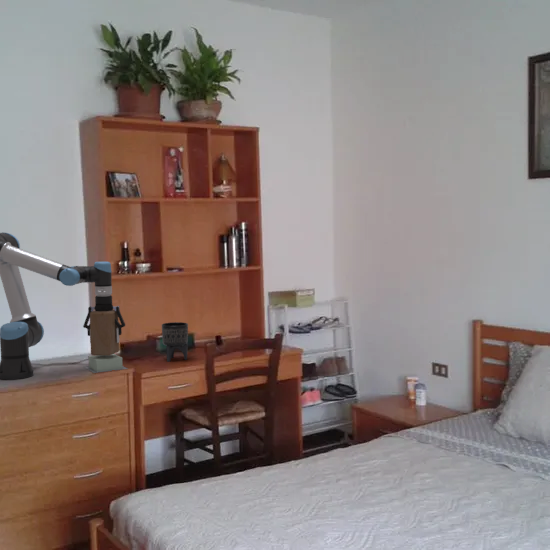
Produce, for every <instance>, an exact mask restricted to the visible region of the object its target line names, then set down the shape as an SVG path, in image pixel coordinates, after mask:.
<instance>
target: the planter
mask: <svg viewBox="0 0 550 550" xmlns="http://www.w3.org/2000/svg"><path fill="white" fill-rule="evenodd" d="M188 336H189V323H187V322H180V321H179V322H176V321H175V322H174V321H172V322H165V323H162V324H161V338H162V344H163V346H166V348H165V349H166V362H167V363H169V362H171V359H173V358H174V357H175V354H174V353H175V349H178V350H179V351H180V352H181V353H182V354H183V360H184V361H187V360H188V341H189V339H188V338H189V337H188Z"/></svg>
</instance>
